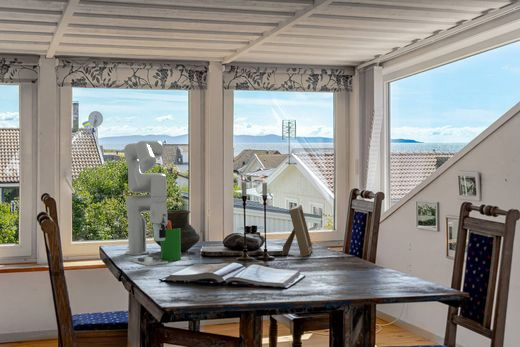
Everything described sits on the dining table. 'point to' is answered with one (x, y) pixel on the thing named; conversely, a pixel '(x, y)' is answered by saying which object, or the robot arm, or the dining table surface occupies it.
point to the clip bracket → (148, 260)
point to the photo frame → (298, 233)
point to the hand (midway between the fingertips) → (159, 236)
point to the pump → (157, 232)
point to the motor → (171, 244)
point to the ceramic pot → (182, 228)
